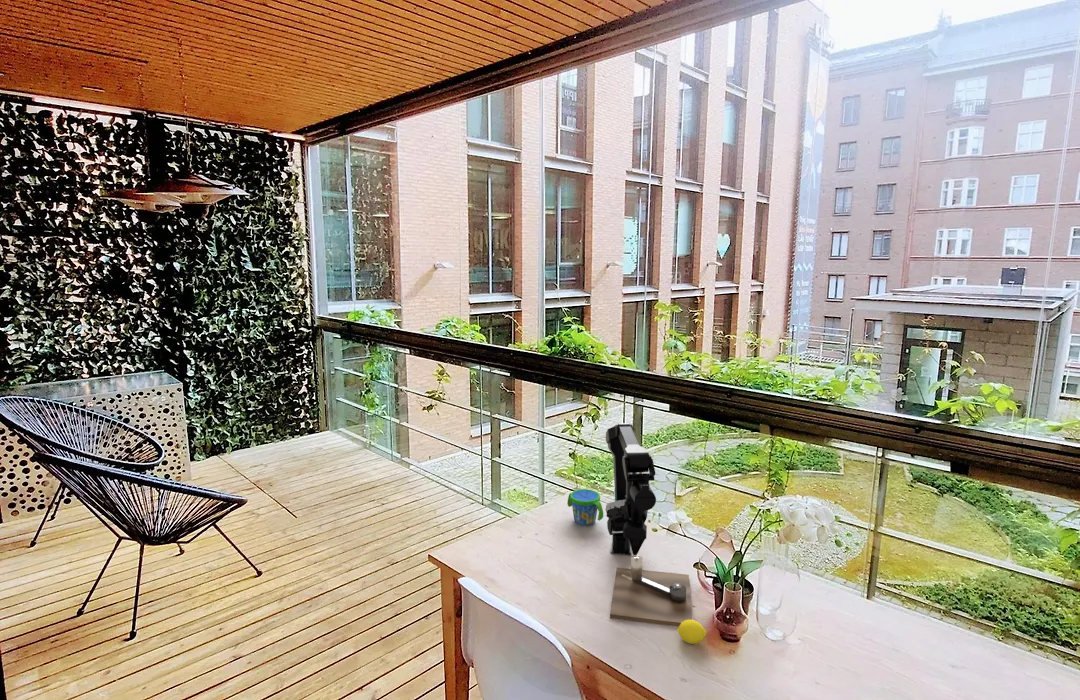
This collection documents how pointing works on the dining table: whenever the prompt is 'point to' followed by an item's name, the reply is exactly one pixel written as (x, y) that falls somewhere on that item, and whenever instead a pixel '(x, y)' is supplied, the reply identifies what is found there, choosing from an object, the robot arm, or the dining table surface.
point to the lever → (675, 592)
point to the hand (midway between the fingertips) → (635, 546)
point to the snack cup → (585, 506)
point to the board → (649, 599)
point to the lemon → (691, 631)
